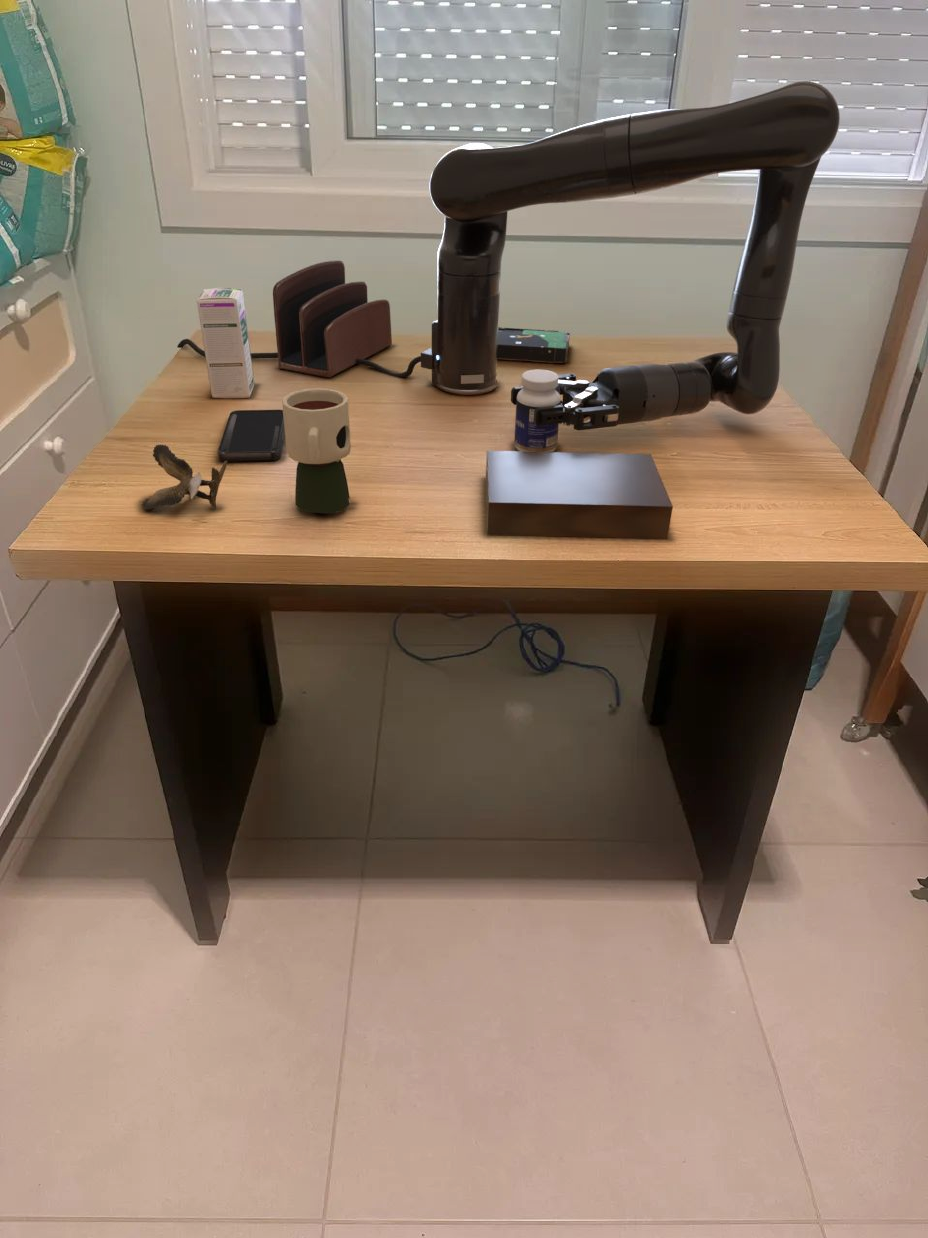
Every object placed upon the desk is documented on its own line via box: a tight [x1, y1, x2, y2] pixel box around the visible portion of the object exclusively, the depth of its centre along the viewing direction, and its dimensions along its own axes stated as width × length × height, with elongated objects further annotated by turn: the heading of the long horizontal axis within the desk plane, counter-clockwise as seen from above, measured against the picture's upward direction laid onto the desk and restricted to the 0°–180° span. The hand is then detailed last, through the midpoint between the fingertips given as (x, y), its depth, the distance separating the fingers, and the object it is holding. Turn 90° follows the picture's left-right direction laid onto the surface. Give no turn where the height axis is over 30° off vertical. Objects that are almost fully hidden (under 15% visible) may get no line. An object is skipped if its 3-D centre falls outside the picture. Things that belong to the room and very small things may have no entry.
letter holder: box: [272, 260, 393, 379], centre depth 144 cm, size 10×20×14 cm, turn 154°
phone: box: [217, 409, 285, 463], centre depth 118 cm, size 8×1×15 cm
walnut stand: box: [485, 450, 674, 540], centre depth 103 cm, size 20×14×4 cm
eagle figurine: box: [141, 444, 228, 510], centre depth 101 cm, size 8×7×9 cm
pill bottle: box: [513, 368, 561, 452], centre depth 115 cm, size 6×6×10 cm
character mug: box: [281, 387, 352, 515], centre depth 99 cm, size 11×7×13 cm, turn 4°
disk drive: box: [497, 326, 571, 364], centre depth 152 cm, size 10×3×15 cm
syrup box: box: [196, 287, 256, 399], centre depth 129 cm, size 6×6×14 cm
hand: (523, 406), depth 114 cm, fingers open, 7 cm apart
